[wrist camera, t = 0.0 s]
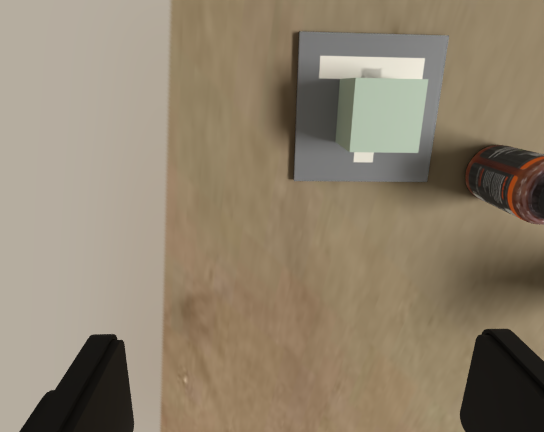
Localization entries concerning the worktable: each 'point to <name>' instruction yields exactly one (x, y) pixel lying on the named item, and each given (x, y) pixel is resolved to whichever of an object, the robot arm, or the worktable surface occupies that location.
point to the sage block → (380, 114)
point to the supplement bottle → (509, 181)
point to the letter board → (325, 93)
